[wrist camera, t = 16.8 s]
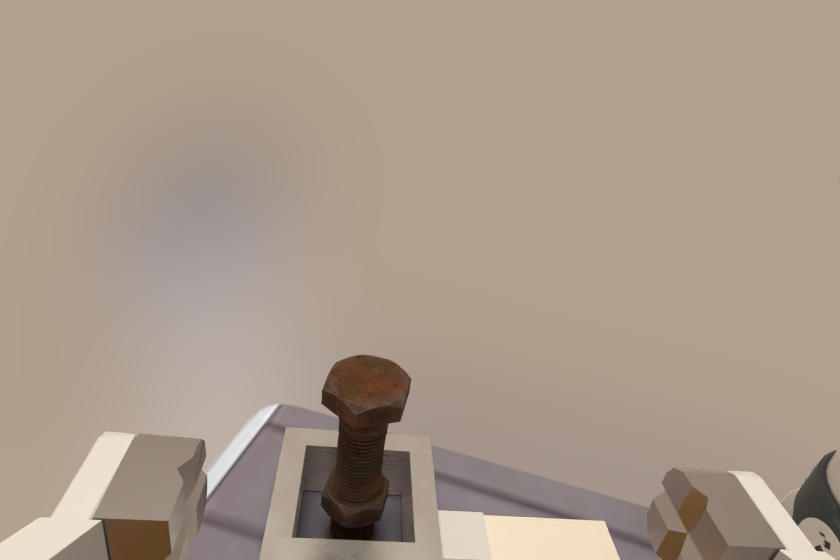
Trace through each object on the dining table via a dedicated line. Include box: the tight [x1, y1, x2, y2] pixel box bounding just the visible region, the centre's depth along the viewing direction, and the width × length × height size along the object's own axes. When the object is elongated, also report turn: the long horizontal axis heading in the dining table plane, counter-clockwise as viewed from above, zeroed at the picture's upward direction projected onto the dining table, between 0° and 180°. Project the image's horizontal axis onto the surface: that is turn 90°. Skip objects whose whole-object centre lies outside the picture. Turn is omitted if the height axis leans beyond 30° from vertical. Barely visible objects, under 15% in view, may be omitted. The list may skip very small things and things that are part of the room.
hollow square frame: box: [259, 427, 443, 560], centre depth 41 cm, size 12×12×5 cm
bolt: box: [321, 355, 411, 541], centre depth 39 cm, size 6×5×15 cm
